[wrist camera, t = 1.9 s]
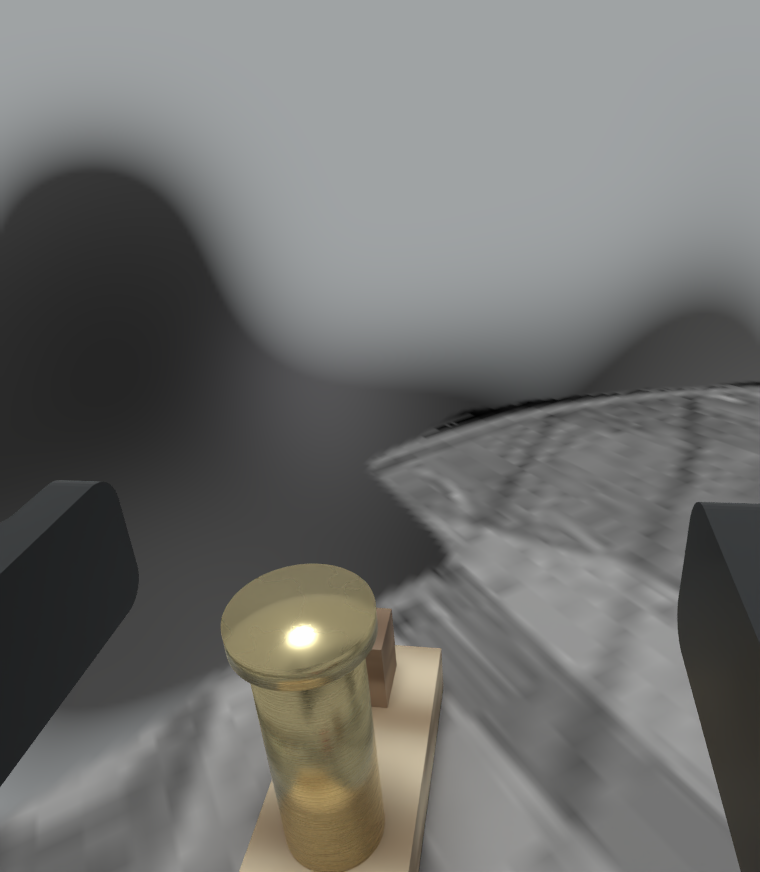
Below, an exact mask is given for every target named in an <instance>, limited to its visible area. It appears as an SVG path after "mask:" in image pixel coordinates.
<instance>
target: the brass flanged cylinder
mask: <svg viewBox="0 0 760 872" xmlns="http://www.w3.org/2000/svg"><path fill="white" fill-rule="evenodd" d="M377 632H378V622H377V613H376V603H375V598H374V595H373V592H372V590H371V589H370V587H369V586H368V584H367V583H366V582H365V581H364V580H363V579H362V578H360V577H359V576H358V575H356V574H354V573H353V572H351V571H348V570H346V569H344V568H340V567H337V566H332V565H326V564H301V565H293V566H288V567H284V568H280V569H277V570H274V571H271V572H269V573H267V574H264V575H262V576H260V577H258V578H257V579H255V580H253V581H251V582H250V583H248V584H247V585H246V586H244V587H243V588H242V589H241V590H240V591H239V592H238V593H236V595H235V596H234V597H233V598H232V599H231V600H230V602H229V603H228V605H227V606H226V608H225V611H224V613H223V616H222V620H221V634H222V638H223V643H224V647H225V651H226V655H227V658H228V661H229V664H230V665H231V667H232V669H233V670H234V671H235V672H236V673H237V674H238V675H239V676H240V677H241V678H242V679H244V680H245V681H247V682H249V683H250V684H251V688H252V692H253V696H254V701H255V705H256V710H257V714H258V719H259V723H260V727H261V732H262V736H263V741H264V745H265V750H266V754H267V758H268V763H269V767H270V772H271V776H272V781H273V785H274V790H275V794H276V798H277V803H278V807H279V812H280V816H281V821H282V825H283V829H284V834H285V838H286V843H287V846H288V849H289V850H290V852H291V854H292V856H293V857H294V858H295V859H296V860H297V861H298V862H299V863H300V864H301V865H302V866H304V867H305V868H307V869H309V870H311V871H314V872H345V871H348V870H351V869H353V868H355V867H357V866H359V865H360V864H362V863H363V862H364V861H366V860H367V859H368V858H369V857H370V856H371V855H372V854H373V853H374V851H375V850H376V848H377V847H378V845H379V843H380V841H381V839H382V836H383V833H384V828H385V814H384V806H383V797H382V789H381V781H380V773H379V765H378V756H377V748H376V740H375V732H374V723H373V715H372V707H371V699H370V691H369V682H368V674H367V666H366V657H367V655H368V654H369V653H370V651H371V649H372V648H373V646H374V644H375V641H376V638H377Z"/></svg>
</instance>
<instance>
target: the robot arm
mask: <svg viewBox="0 0 760 872" xmlns="http://www.w3.org/2000/svg"><path fill="white" fill-rule="evenodd" d="M138 582H139V574H138V567H137V563H136V559H135V556H134V552H133V549H132V545H131V541H130V538H129V534H128V531H127V527H126V523H125V520H124V517H123V513H122V509H121V506H120V502H119V498H118V496H117V493H116V491H115V490H114V488H113V487H112V486H111V485H110V484H108V483H106V482H95V481H94V482H93V481H63V480H58V481H54V482H51V483H50V484H49V485H47V486H46V487H45V488H44V489H43V490H41V491H40V492H39V493H38V494H37V495H36V496H34V497H33V498H32V499H31V500H30V501H29V502H27V503H26V504H25V505H24V506H23V507H22V508H21V509H20V510H19V511H17V512H16V513H15V514H14V515H12V516H11V517H10V518H8V519H6V520H4V521H3V522H1V523H0V786H1V785H2V784H3V782H4V781H5V780H6V778H7V777H8V776H9V774H10V773H11V771H12V770H13V769H14V767H15V766H16V765H17V763H18V762H19V761H20V759H21V758H22V756H23V755H24V754H25V752H26V751H27V750H28V748H29V747H30V745H31V744H32V743H33V741H34V740H35V739H36V737H37V736H38V734H39V733H40V732H41V731H42V729H43V728H44V727H45V725H46V724H47V722H48V721H49V720H50V718H51V717H52V716H53V714H54V713H55V712H56V710H57V709H58V708H59V706H60V705H61V703H62V702H63V701H64V699H65V698H66V697H67V695H68V694H69V693H70V691H71V690H72V688H73V687H74V686H75V684H76V683H77V682H78V680H79V679H80V678H81V676H82V675H83V674H84V672H85V670H86V669H87V668H88V667H89V665H90V664H91V663H92V661H93V660H94V659H95V657H96V656H97V654H98V653H99V652H100V650H101V649H102V647H103V646H104V645H105V643H106V642H107V641H108V639H109V638H110V637H111V635H112V634H113V633H114V631H115V630H116V628H117V627H118V626H119V624H120V623H121V622H122V620H123V619H124V618H125V616H126V615H127V614H128V612H129V611H130V609H131V608H132V605H133V603H134V601H135V598H136V595H137V590H138ZM677 618H678V635H679V643H680V648H681V652H682V656H683V660H684V664H685V667H686V671H687V675H688V678H689V682H690V686H691V689H692V693H693V697H694V700H695V704H696V708H697V711H698V715H699V719H700V723H701V726H702V730H703V734H704V737H705V741H706V745H707V748H708V752H709V756H710V759H711V763H712V767H713V770H714V774H715V778H716V782H717V785H718V789H719V793H720V796H721V800H722V804H723V807H724V811H725V815H726V818H727V822H728V826H729V829H730V833H731V837H732V841H733V844H734V848H735V852H736V855H737V859H738V863H739V866H740V870H741V872H760V504H747V503H715V502H697V503H695V505H694V507H693V509H692V512H691V517H690V523H689V530H688V536H687V543H686V550H685V557H684V564H683V571H682V578H681V584H680V591H679V598H678V614H677Z"/></svg>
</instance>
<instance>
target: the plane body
mask: <svg viewBox="0 0 760 872" xmlns="http://www.w3.org/2000/svg"><path fill="white" fill-rule="evenodd" d="M376 613H377V622H378V632H377V638H376V641H375V644H374V646H373V648H372V649H371V651H370V653H369V654H368V655H367V657H366V666H367V674H368V682H369V691H370V699H371V707H372V715H373V723H374V732H375V740H376V748H377V756H378V765H379V773H380V781H381V789H382V797H383V806H384V814H385V828H384V833H383V836H382V839H381V841H380V843H379V845H378V847H377V848H376V850H375V851H374V853H373V854H372V855H371V856H370V857H369V858H368V859H367V860H366V861H364V862H363V863H362V864H360V865H359V866H357V867H355V868H353V869H351V870H348V871H345V872H419V864H420V857H421V849H422V842H423V835H424V827H425V820H426V812H427V805H428V797H429V790H430V782H431V775H432V767H433V760H434V753H435V745H436V738H437V730H438V723H439V715H440V708H441V700H442V693H443V673H442V655H441V648H427V647H413V646H399V645H395V641H394V631H393V620H392V610H391V609H385V608H376ZM239 872H314V871H311V870H309V869H307V868H305V867H304V866H302V865H301V864H300V863H299V862H298V861H297V860H296V859H295V858H294V857H293V856H292V854H291V852H290V850H289V849H288V846H287V843H286V838H285V834H284V829H283V825H282V821H281V816H280V812H279V807H278V803H277V798H276V794H275V790H274V785H273V781H271V784H270V787H269V789H268V792H267V795H266V798H265V801H264V804H263V806H262V809H261V812H260V815H259V818H258V820H257V823H256V826H255V829H254V832H253V834H252V837H251V840H250V843H249V846H248V848H247V851H246V854H245V857H244V860H243V862H242V865H241V868H240V871H239Z"/></svg>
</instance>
